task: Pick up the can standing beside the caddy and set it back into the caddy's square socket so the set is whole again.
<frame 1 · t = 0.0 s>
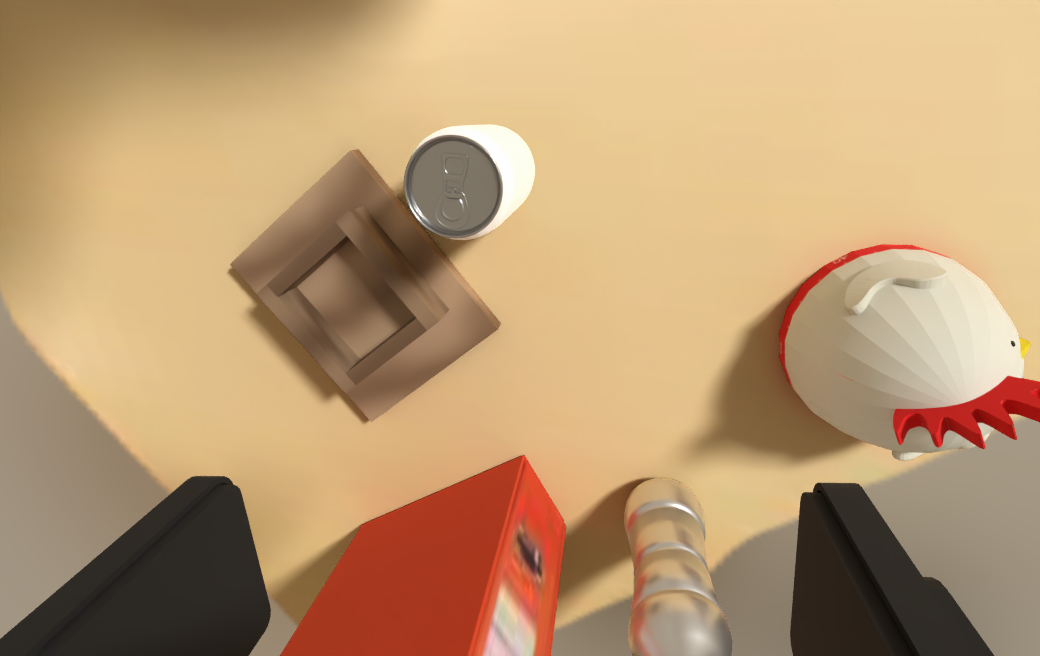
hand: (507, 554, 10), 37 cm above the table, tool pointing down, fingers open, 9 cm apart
file binder: (461, 520, 56), on the table
kitchen timer: (876, 336, 45), on the table
plastic bottle: (661, 500, 52), on the table
caddy: (368, 291, 49), on the table
can: (492, 170, 45), on the table
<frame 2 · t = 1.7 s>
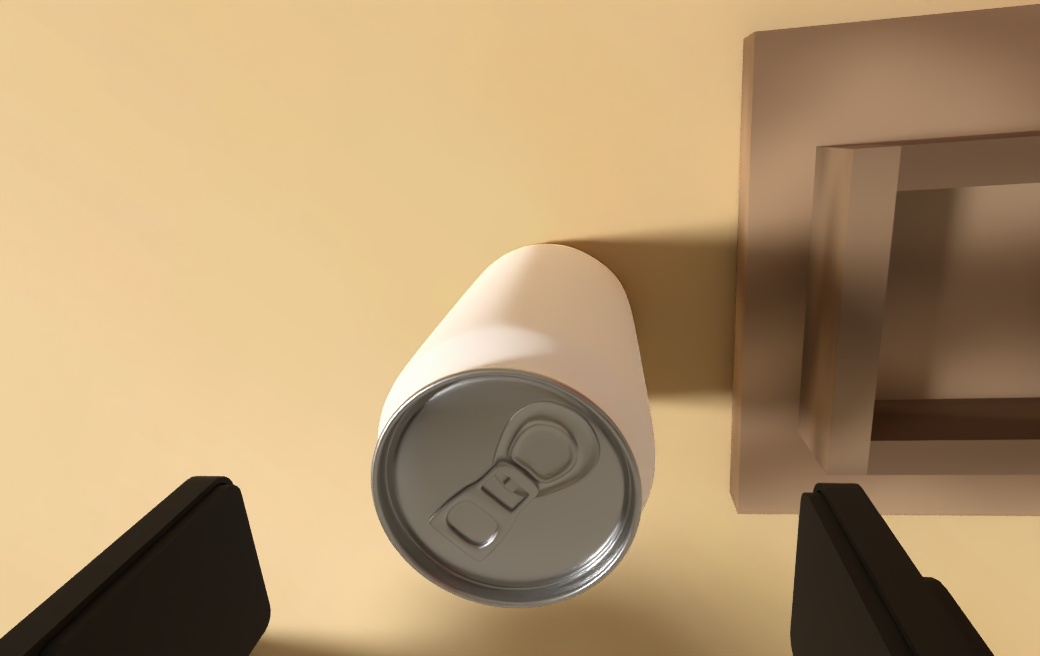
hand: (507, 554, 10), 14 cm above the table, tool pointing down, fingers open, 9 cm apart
caddy: (942, 282, 22), on the table
can: (548, 321, 24), on the table
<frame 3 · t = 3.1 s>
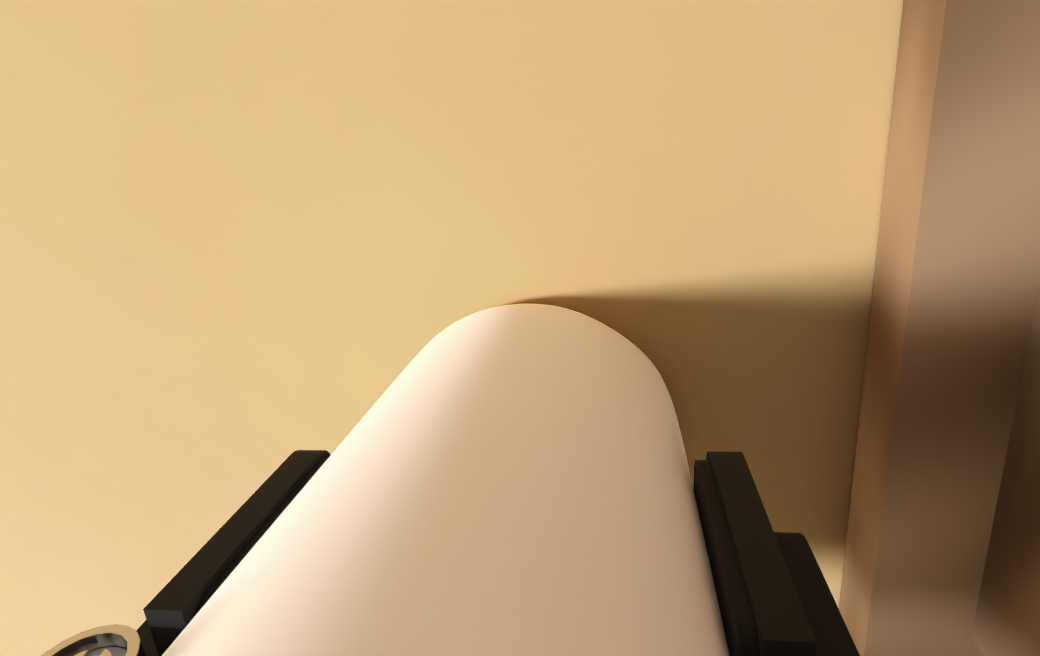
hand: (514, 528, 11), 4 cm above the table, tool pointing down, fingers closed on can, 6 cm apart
can: (536, 426, 14), on the table, touching gripper
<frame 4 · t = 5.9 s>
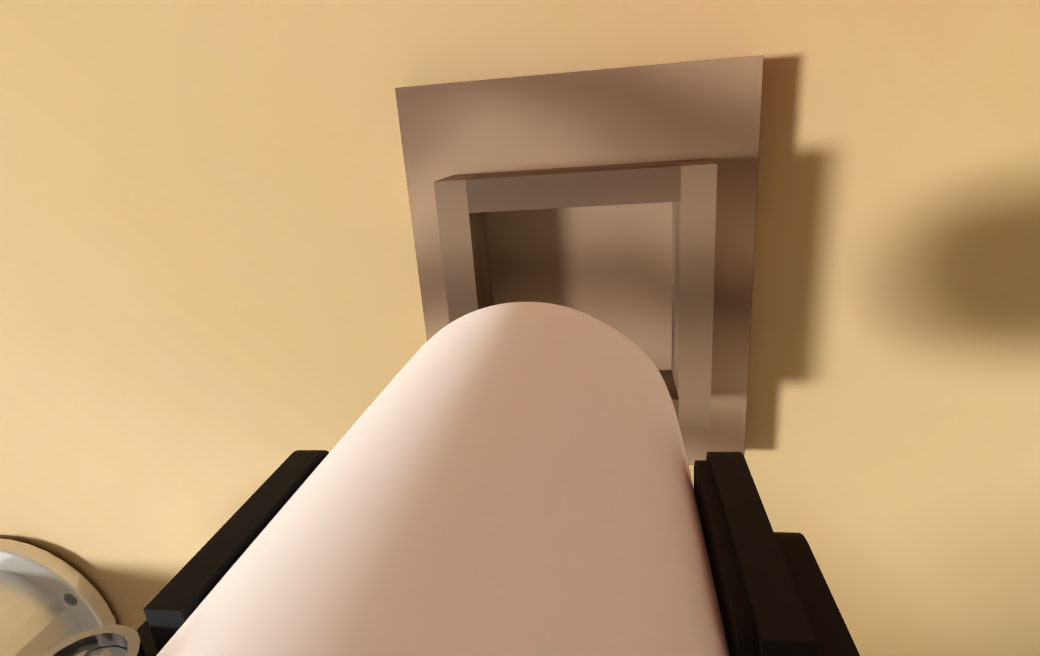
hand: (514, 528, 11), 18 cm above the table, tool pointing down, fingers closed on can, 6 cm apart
caddy: (581, 279, 27), on the table
can: (535, 425, 14), point 14 cm above the table, touching gripper
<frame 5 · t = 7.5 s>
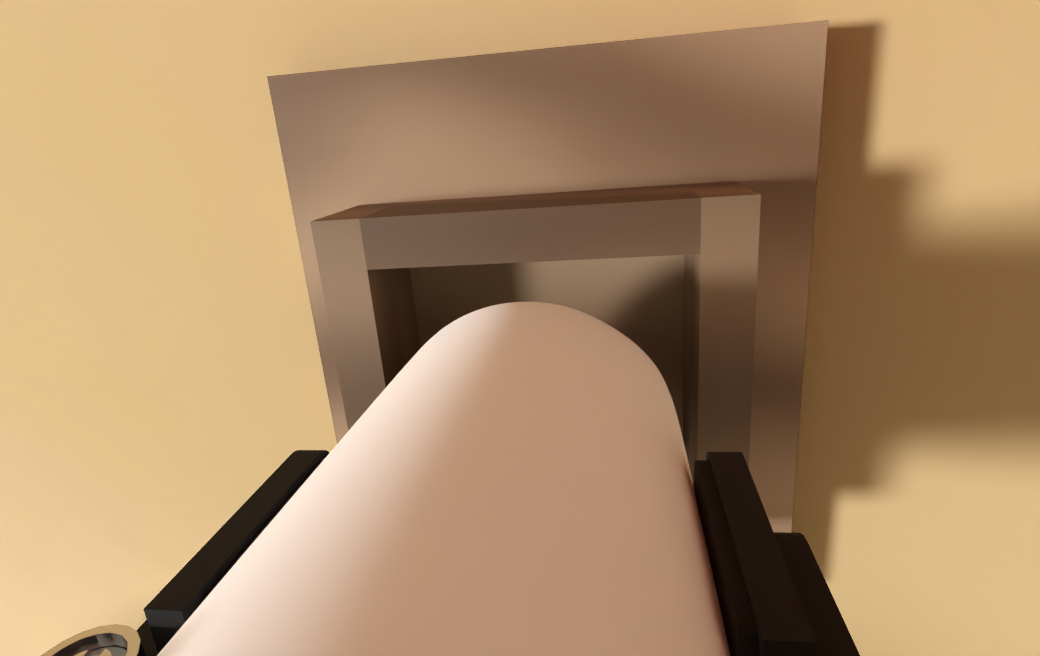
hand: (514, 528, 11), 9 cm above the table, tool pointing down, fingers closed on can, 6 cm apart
caddy: (553, 349, 19), on the table
can: (535, 425, 14), point 5 cm above the table, touching gripper
when the fingers open (6 cm above the table, at t = 9.0 s): can stays where it is, resting on caddy.
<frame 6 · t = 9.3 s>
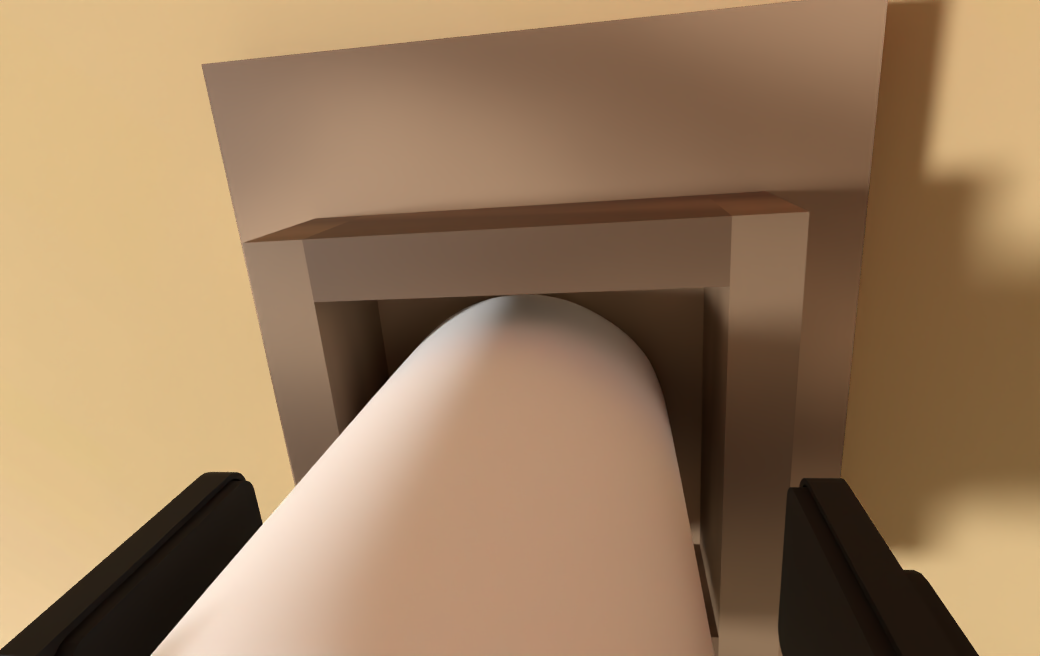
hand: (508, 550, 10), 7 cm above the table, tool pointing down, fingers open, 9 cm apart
caddy: (548, 385, 16), on the table
can: (533, 411, 15), point 1 cm above the table, touching caddy
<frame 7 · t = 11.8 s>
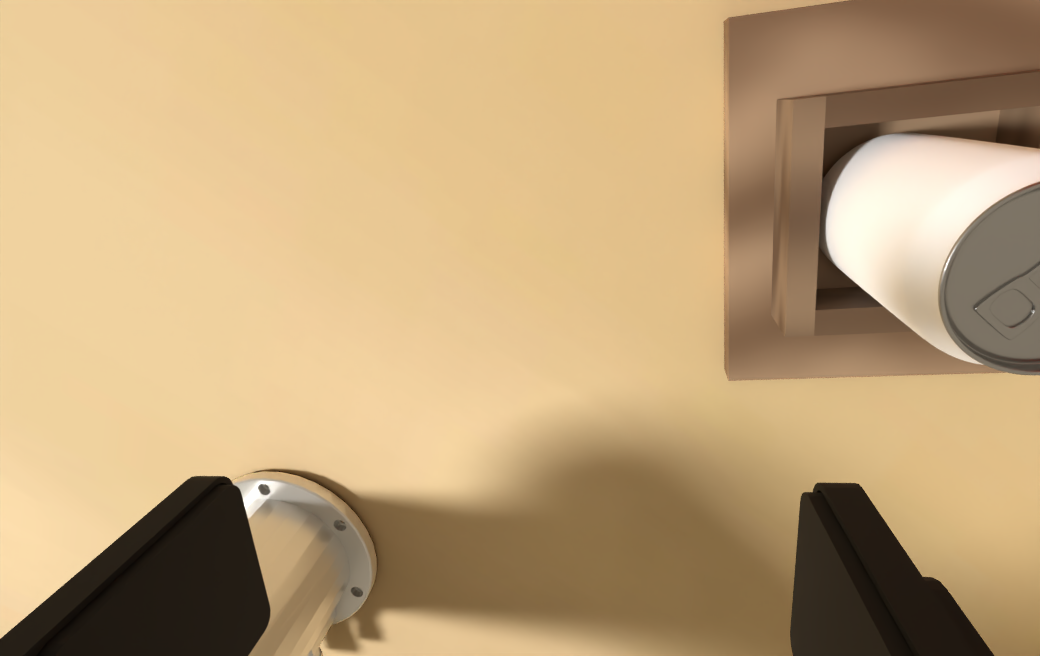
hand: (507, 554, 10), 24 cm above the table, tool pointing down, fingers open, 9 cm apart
caddy: (879, 198, 29), on the table
can: (883, 206, 28), point 1 cm above the table, touching caddy
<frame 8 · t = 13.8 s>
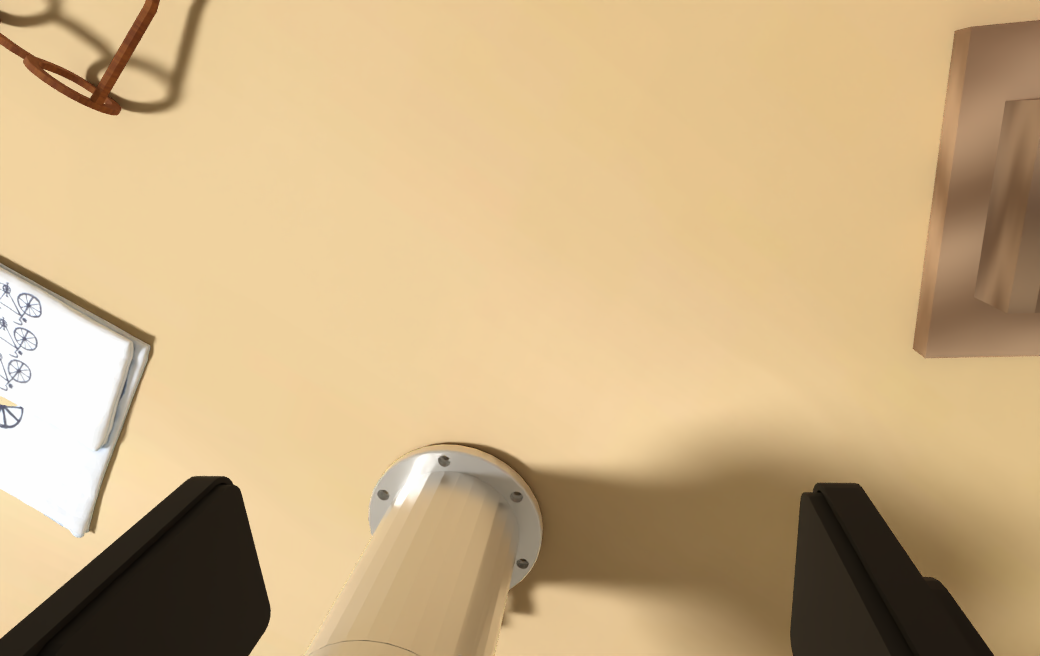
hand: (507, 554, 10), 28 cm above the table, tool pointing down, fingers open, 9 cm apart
snack bag: (15, 382, 47), on the table
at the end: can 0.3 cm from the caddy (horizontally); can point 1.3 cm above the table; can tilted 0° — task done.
